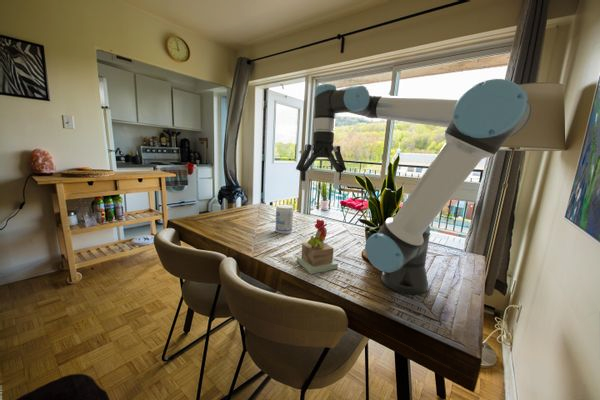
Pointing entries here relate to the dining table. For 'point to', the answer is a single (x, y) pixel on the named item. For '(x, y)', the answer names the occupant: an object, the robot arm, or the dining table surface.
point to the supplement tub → (284, 219)
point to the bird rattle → (319, 234)
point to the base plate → (317, 268)
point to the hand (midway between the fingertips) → (320, 189)
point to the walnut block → (317, 254)
